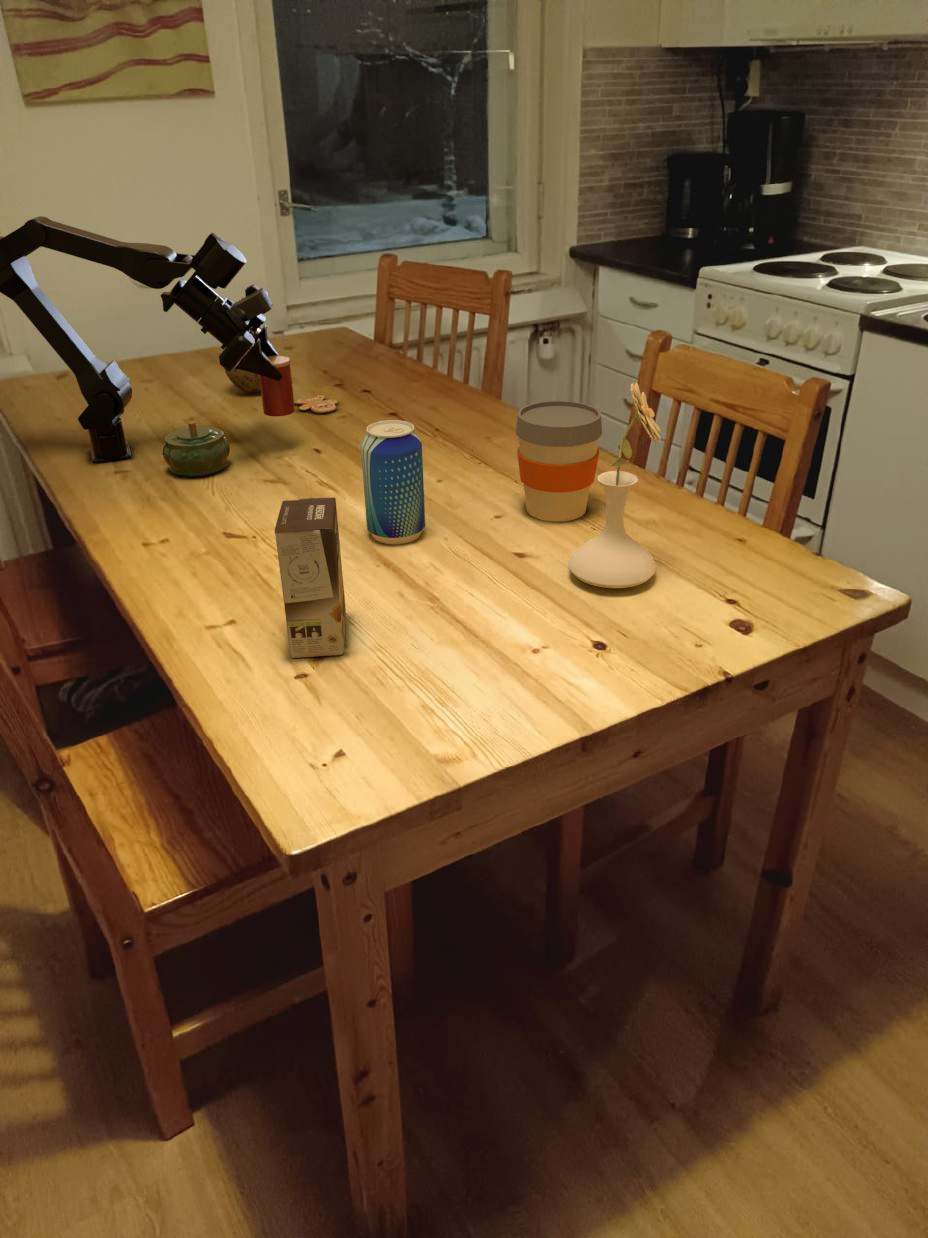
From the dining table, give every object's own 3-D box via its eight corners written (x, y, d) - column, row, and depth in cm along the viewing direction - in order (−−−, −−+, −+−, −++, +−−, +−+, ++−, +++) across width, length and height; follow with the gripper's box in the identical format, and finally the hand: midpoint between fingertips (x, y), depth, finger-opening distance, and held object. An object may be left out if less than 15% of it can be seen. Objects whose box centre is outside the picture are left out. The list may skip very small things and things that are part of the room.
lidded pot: (163, 462, 166) (154, 417, 162) (227, 453, 169) (220, 408, 165) (169, 484, 157) (160, 437, 153) (237, 474, 160) (230, 428, 156)
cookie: (325, 392, 196) (347, 404, 189) (325, 396, 197) (347, 408, 189) (287, 399, 192) (309, 411, 185) (288, 404, 193) (309, 416, 185)
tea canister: (260, 408, 168) (254, 357, 164) (292, 405, 170) (286, 354, 166) (266, 418, 164) (259, 365, 159) (298, 414, 166) (293, 362, 161)
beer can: (381, 551, 134) (373, 442, 126) (358, 529, 141) (350, 424, 133) (435, 538, 137) (431, 431, 129) (410, 517, 144) (405, 414, 136)
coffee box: (345, 655, 111) (333, 529, 103) (289, 659, 110) (273, 532, 102) (347, 616, 119) (336, 495, 111) (295, 619, 118) (280, 498, 110)
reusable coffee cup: (552, 486, 153) (554, 394, 146) (614, 508, 145) (621, 412, 138) (497, 510, 146) (497, 414, 138) (560, 534, 138) (564, 434, 130)
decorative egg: (254, 380, 208) (245, 309, 200) (290, 388, 202) (282, 316, 194) (216, 393, 200) (205, 320, 192) (252, 402, 195) (242, 327, 187)
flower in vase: (634, 605, 120) (649, 410, 107) (552, 583, 125) (558, 395, 112) (672, 564, 129) (691, 380, 117) (595, 545, 134) (605, 368, 122)
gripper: (229, 283, 147) (308, 353, 153) (246, 261, 163) (317, 325, 169) (186, 337, 151) (265, 403, 157) (207, 310, 167) (277, 371, 173)
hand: (283, 373), depth 164 cm, fingers closed on tea canister, 5 cm apart
